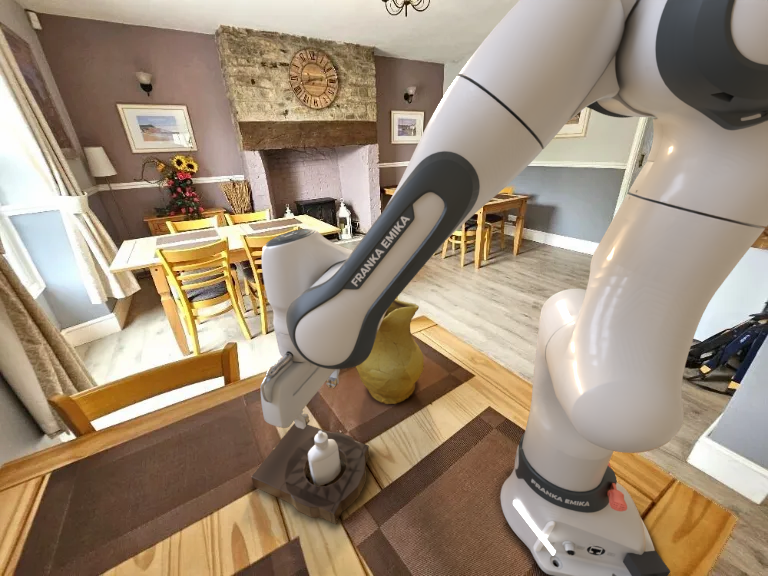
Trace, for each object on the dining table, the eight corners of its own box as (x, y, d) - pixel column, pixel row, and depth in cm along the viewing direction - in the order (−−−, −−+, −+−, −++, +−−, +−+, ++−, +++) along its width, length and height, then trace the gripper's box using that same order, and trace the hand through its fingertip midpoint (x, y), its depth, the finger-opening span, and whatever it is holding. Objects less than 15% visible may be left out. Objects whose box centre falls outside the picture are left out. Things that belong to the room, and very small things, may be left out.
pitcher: (406, 420, 72) (403, 326, 63) (343, 396, 81) (331, 310, 72) (434, 378, 86) (434, 295, 77) (376, 361, 95) (370, 285, 86)
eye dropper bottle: (340, 485, 59) (334, 441, 54) (310, 487, 59) (302, 443, 54) (341, 463, 63) (336, 421, 58) (313, 466, 63) (306, 423, 58)
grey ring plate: (377, 455, 65) (377, 445, 64) (342, 532, 52) (340, 521, 51) (299, 427, 72) (298, 418, 70) (251, 489, 59) (248, 479, 58)
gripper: (279, 385, 38) (297, 461, 44) (354, 308, 55) (360, 371, 61) (239, 374, 40) (262, 448, 46) (324, 304, 57) (332, 364, 63)
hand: (318, 403), depth 53 cm, fingers open, 8 cm apart
